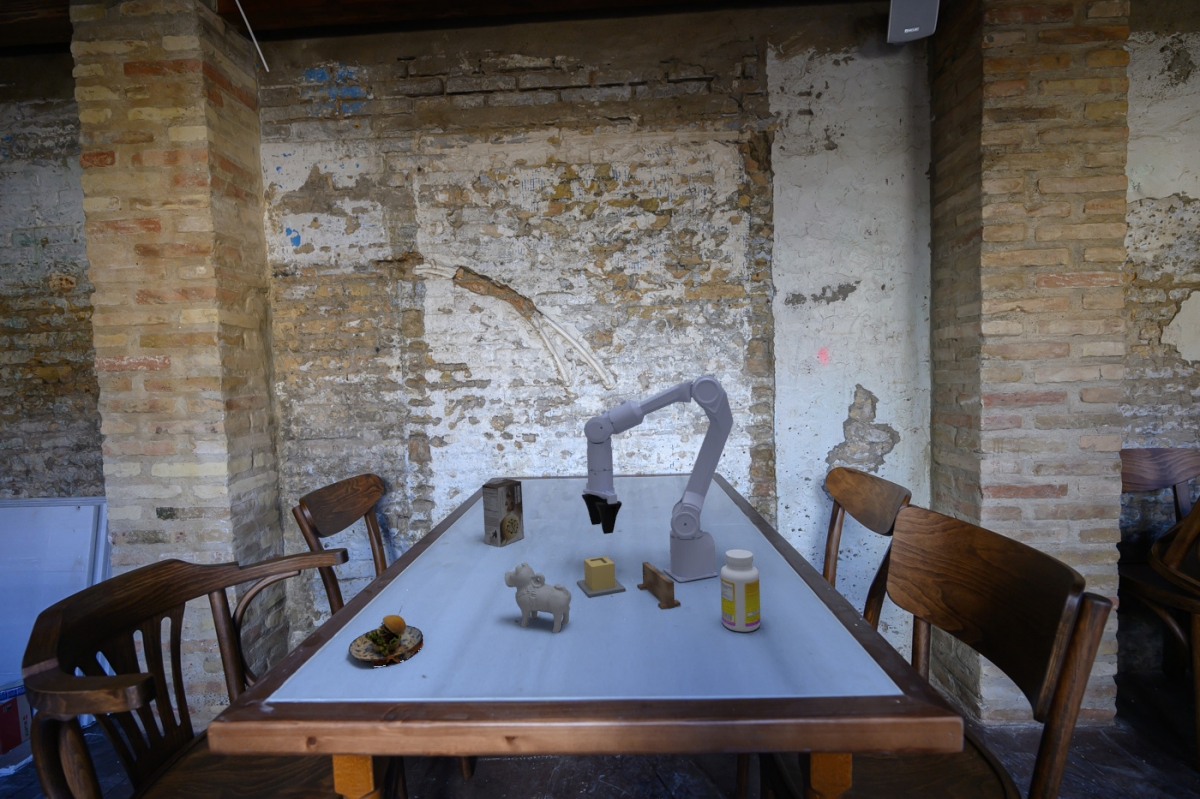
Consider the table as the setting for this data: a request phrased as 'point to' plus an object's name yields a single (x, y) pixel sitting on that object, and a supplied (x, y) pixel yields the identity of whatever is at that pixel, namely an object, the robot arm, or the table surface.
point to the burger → (387, 642)
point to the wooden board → (658, 586)
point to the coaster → (606, 591)
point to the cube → (599, 573)
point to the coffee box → (503, 512)
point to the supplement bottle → (740, 592)
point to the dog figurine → (538, 596)
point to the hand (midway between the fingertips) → (602, 528)
